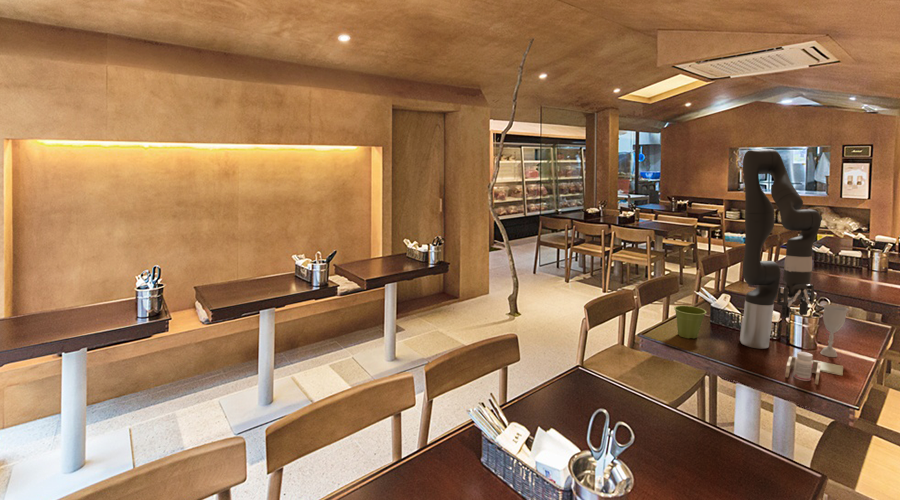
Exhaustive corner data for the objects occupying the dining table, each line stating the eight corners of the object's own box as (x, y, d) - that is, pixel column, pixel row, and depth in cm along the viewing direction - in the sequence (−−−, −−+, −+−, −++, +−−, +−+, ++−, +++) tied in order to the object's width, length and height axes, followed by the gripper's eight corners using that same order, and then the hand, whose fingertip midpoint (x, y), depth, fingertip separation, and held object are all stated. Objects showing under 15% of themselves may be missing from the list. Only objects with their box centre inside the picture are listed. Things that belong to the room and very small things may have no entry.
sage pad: (813, 361, 166) (813, 360, 166) (842, 367, 161) (843, 366, 160) (812, 369, 160) (812, 367, 160) (842, 375, 155) (842, 374, 154)
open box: (788, 366, 162) (789, 355, 161) (819, 373, 156) (821, 362, 156) (785, 376, 154) (786, 365, 153) (817, 384, 149) (819, 372, 148)
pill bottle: (814, 381, 150) (817, 357, 149) (797, 380, 151) (800, 356, 150) (806, 375, 155) (809, 351, 154) (790, 374, 156) (793, 350, 155)
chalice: (838, 352, 173) (845, 306, 170) (844, 359, 167) (851, 311, 164) (814, 349, 176) (820, 303, 173) (819, 356, 170) (825, 308, 167)
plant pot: (705, 342, 184) (707, 315, 182) (671, 338, 189) (674, 311, 187) (703, 333, 194) (705, 307, 192) (671, 329, 199) (674, 304, 197)
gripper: (800, 266, 163) (797, 311, 165) (771, 268, 158) (768, 315, 160) (824, 269, 156) (820, 316, 157) (794, 272, 151) (791, 321, 153)
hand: (794, 315), depth 159 cm, fingers open, 8 cm apart
